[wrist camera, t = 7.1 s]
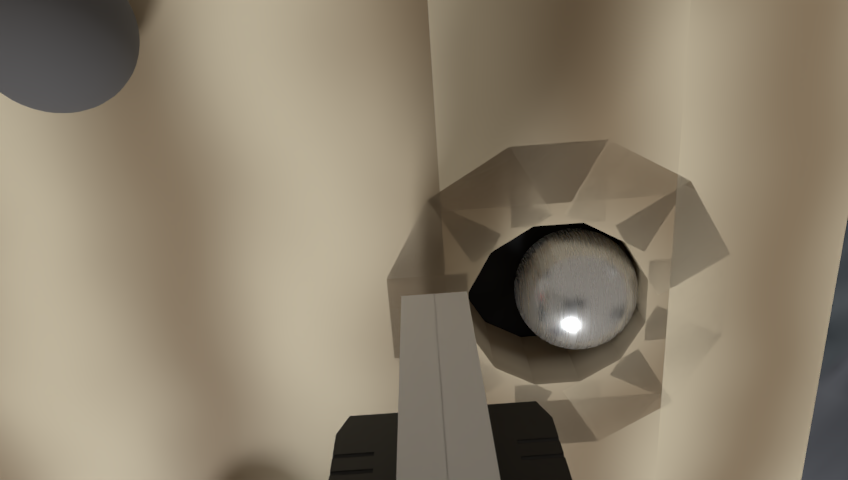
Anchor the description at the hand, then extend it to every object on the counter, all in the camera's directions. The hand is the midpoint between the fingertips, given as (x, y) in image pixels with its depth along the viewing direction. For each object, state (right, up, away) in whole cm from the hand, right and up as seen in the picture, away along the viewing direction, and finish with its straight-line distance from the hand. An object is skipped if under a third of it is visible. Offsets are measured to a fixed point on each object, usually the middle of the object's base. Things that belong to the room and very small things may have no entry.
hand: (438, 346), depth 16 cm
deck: (-2, +1, +4) cm, 4 cm away
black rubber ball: (-7, +6, -3) cm, 10 cm away
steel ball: (+4, +1, +2) cm, 4 cm away
